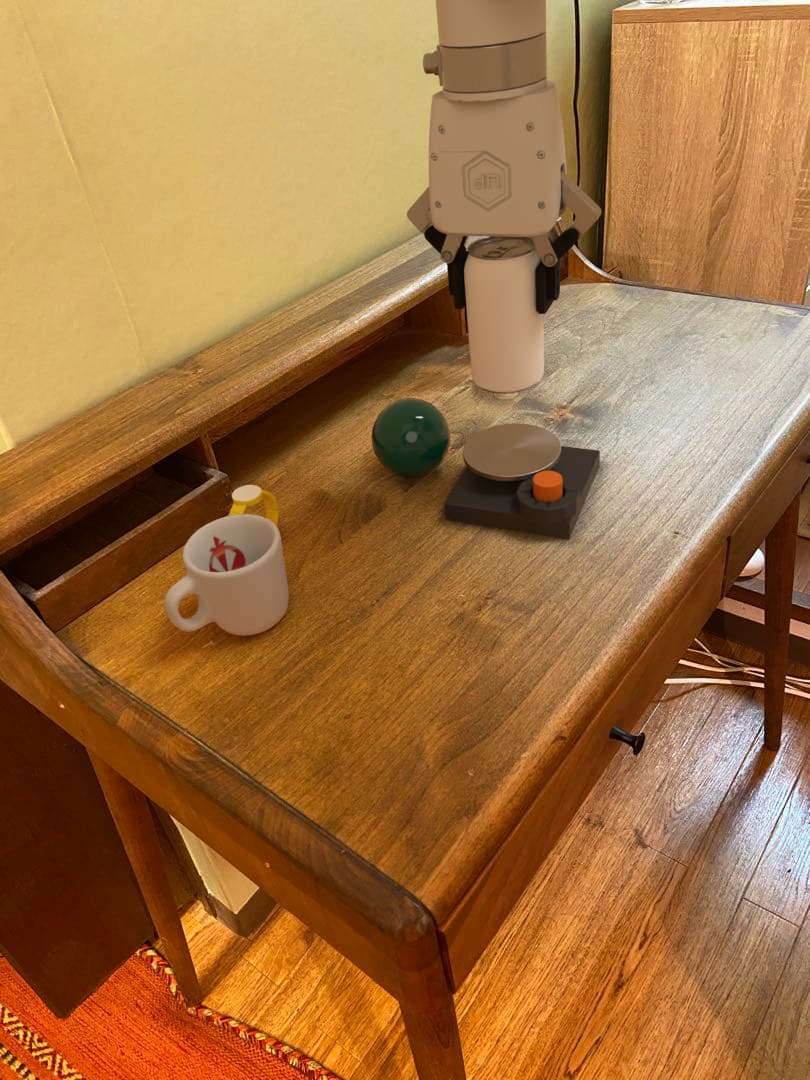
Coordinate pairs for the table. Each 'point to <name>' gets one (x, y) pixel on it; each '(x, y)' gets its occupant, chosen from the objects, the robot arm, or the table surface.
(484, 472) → the brushed metal disc
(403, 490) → the table surface
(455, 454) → the table surface
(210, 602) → the cup
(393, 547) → the table surface
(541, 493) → the button
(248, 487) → the watch
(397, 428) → the sphere
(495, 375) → the can
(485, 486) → the scale
